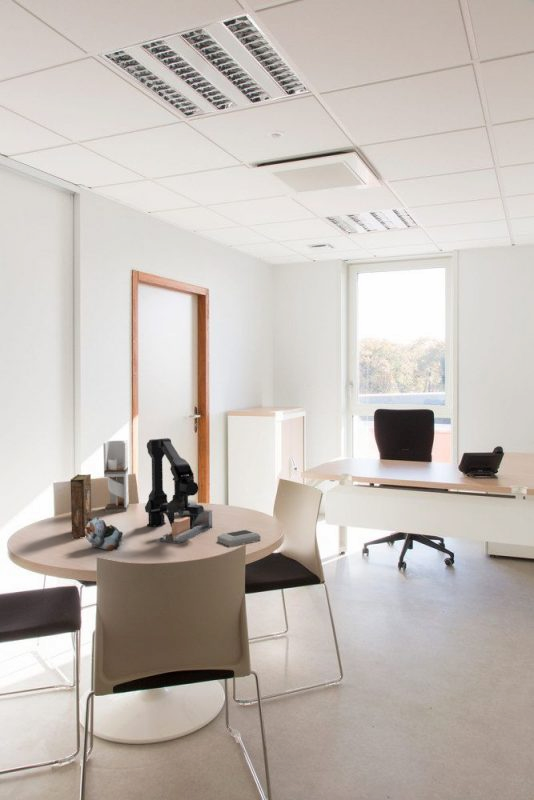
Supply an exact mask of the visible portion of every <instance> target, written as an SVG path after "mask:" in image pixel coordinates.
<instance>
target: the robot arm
mask: <svg viewBox="0 0 534 800" xmlns="http://www.w3.org/2000/svg"><path fill="white" fill-rule="evenodd" d="M146 448H147V449H146V450H147V454H148V455H149V457H150V458H151V491H150V493H149V495H148V500H147V503H146V504H145V506H144V510H145V512H146V513H147V514H148V523H146V526H147V527H161V526H163V525H166V524H167V523H166V522H165V521H166V520H165V517H167V520H168V522H169V525H170V528H172V523H173V522H175V514H178V512H179V510H182V511H189V512H190V514H189V515H188V517H190V529H192V528H193V526H194V523H195V521H196V519H197V517H198V515H199V514H201V513H202V512H204V510H205V508H204V507H203V505H201V504H197V505H194V506H191V507H188V506H189V505H190V503H188V500H189V497H190V496H192V497H193V496H196V494H197V493H198V491H199V485H198V483H197V482H196V481H195V475H194V471H193V470H192V467H191V465H190V464H189V462H188V461H187V460H186V459H184V458H183V457H181V456H180V454H179V453H178V451H177V449H176V448H175V447H174V445H173V443H172V440H171V438H168V437H165V438H157V439H156V438H155V439H149V440H148V441H147V443H146ZM164 457H166V459H167V461H168V462H169V464H170V469H169V470H170V472H171V475H172V476H173V477H172V481H174V485H173V486H174V494H173V495H172V500H170V501H169V502H168V495H167V493H165V491H164V485H163V484H164V482H163V481H164V479H163V478H164V477H163V476H164V475H163V473H164V472H163V471H164V469H163V458H164ZM183 508H185V509H183Z"/></svg>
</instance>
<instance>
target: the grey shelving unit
mask: <svg viewBox="0 0 534 800" xmlns="http://www.w3.org/2000/svg"><path fill="white" fill-rule="evenodd" d="M128 445H129V443H128V440H106V441H104V442H103V477H104V478H107V490H108V491H109V503H107V504H106V506H105V507H104V512H105V513H112V512H113V513H114V512H115V513H116V512H119V513H120V512H122V513H123V512H127V511H128V509H129V507H130V502H129V501H130V499H129V496H130V495H129V452H128V451H129V450H128V448H129V446H128Z"/></svg>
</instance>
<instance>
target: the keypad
mask: <svg viewBox="0 0 534 800" xmlns="http://www.w3.org/2000/svg"><path fill="white" fill-rule="evenodd" d="M216 539H217V541H218V542H217V541H216V542H217V543H219V542H220V544H222V543H223V545H224V544H225V546H227V545H228V547H230V546H231V547H235V546H234V545H236V546H240V545H239V544H241V545H244V544H243V543H246V544H249V543H248V542H251V543H254V542H253V541H256V542H259V541H258V540H260V541H261V535H260V534H259V533H257V532H255V531H253V530H249V529H242V530H236V531H230V532H225V533H221V534H220V535H218V536H217V538H216Z"/></svg>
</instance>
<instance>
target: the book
mask: <svg viewBox="0 0 534 800" xmlns="http://www.w3.org/2000/svg"><path fill="white" fill-rule="evenodd" d="M91 479H92V478H91V473H90V474H76V475H75V476H74V477H72V478H70V506H71V507H70V510H71V515H70V516H71V538H72V537H73V538H72V539H81V538H80V537H85V536H86V534H85V528H86V526H87V521H88V520H87V519H88V518H90V519H92V517H93V516H92V480H91ZM92 520H93V519H92ZM85 538H86V537H85Z"/></svg>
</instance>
